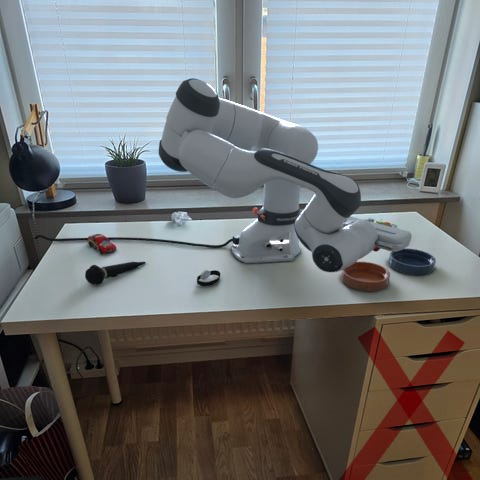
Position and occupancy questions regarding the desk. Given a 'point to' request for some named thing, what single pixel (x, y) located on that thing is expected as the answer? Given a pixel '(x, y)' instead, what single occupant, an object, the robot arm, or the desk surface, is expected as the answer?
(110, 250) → the race car
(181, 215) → the crumpled paper
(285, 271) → the desk surface
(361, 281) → the terracotta bowl
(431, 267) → the slate bowl
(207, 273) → the watch
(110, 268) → the microphone
